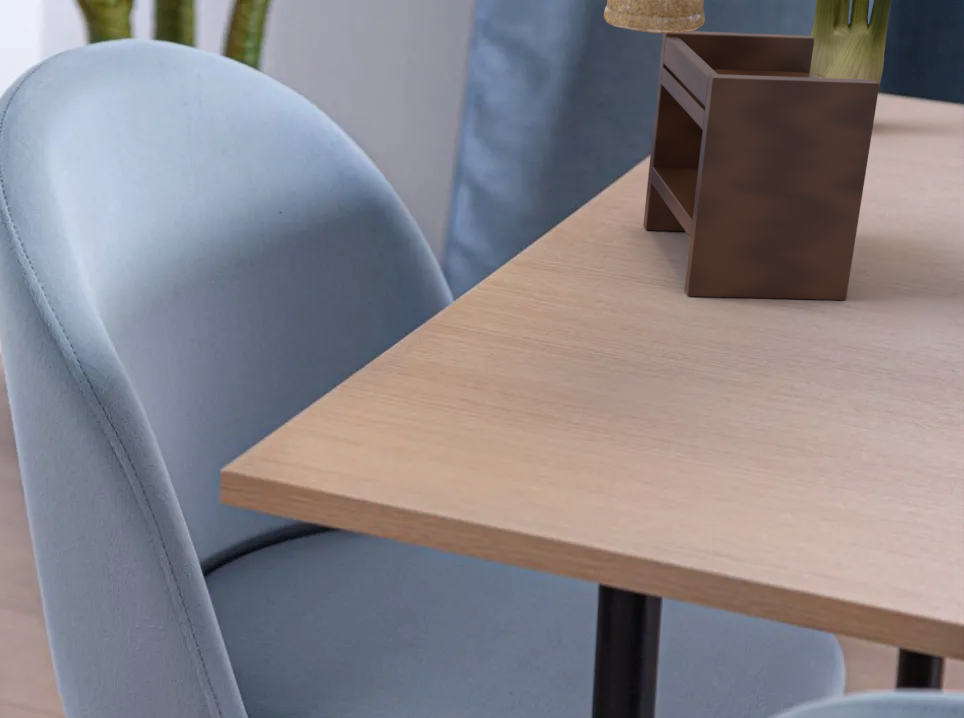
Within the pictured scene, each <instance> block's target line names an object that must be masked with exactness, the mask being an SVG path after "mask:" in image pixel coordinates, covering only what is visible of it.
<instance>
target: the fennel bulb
mask: <svg viewBox="0 0 964 718" xmlns="http://www.w3.org/2000/svg"><path fill="white" fill-rule="evenodd" d="M850 3H851V8H850ZM891 4H892V0H873V3H872V8H871V12H870V16H869V10H870V0H815V11H814V18H813V24H812V29H811V33H810V36H811V37H813V38H814V47H813V54H812V61H811V68H810V73H811V74H813V75H814V76H815V77H816V78H836V79H865V80H875V81H876V82H878V83H879V86H880V85H881V80H882V76H883V70H884V62H885V49H886V41H887V35H888V34H887V32H888V24H889V23H888V22H889V17H890V16H889V15H890V11H891V6H892V5H891ZM850 9H851V10H850ZM849 15H850V16H849ZM849 17H850V18H849Z"/></svg>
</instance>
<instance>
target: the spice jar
mask: <svg viewBox="0 0 964 718" xmlns="http://www.w3.org/2000/svg"><path fill="white" fill-rule="evenodd" d="M606 1H607V2H606V5H605V7H604V11H603V18H604V20H605V22H606V23H607V24H609V25H611V26H612V27H615V28H619V29H625V30H630V31H635V32H643V33H648V34H649V33H651V34H663V33H681V32H690V31H698V29H700V28H701V27H702V26H704V24H705V23H706V22H705V21H706V16H705V11H704V3H705V0H606Z"/></svg>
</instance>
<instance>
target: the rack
mask: <svg viewBox="0 0 964 718" xmlns="http://www.w3.org/2000/svg"><path fill="white" fill-rule="evenodd" d="M813 47H814V38H813V37H811V34H810V35H808V34H807V35H805V34H782V33H781V34H780V33H757V32H755V33H753V32H726V31H724V32H723V31H703V30H702V31H701V30H695V31H690V32H681V33H662V40H661V48H660V49H661V50H660V59H659V69H658V78H657V87H656V88H657V89H656V98H655V105H654V107H655V108H654V117H653V125H652V126H653V127H652V136H651V137H652V138H651V146H650V155H649V164H648V165H649V166H648V176H647V186H646V196H645V204H644V215H643V224H642V226H643V227H644V229H645V231H661V232H662V231H665V232H685V233H686V234H687V236H688V237H689V247H688V257H687V266H686V274H685V283H684V292H685V294H686V295H687V297H703V298H704V297H709V298H710V297H712V298H743V299H745V298H749V299H751V298H752V299H786V300H787V299H789V300H825V301H830V300H831V301H832V300H833V301H846V300H847V295H848V288H849V284H850V283H849V282H850V276H851V269H852V263H853V258H854V250H855V244H856V237H857V233H858V232H857V231H858V225H859V219H860V212H861V206H862V200H863V199H862V198H863V192H864V186H865V180H866V173H867V167H868V162H869V161H868V160H869V154H870V149H871V142H872V135H873V129H874V122H875V115H876V110H877V105H878V104H877V103H878V96H879V89H880V85H879V83H878V82H876V81H875V80H865V79H836V78H816V77H815V76H814V75H813V74H811V73H810V68H811V61H812V54H813Z"/></svg>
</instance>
